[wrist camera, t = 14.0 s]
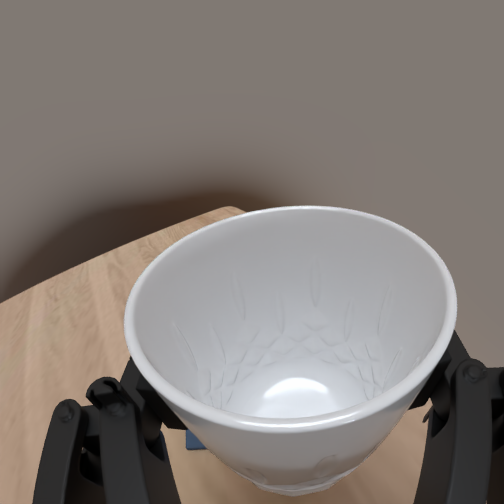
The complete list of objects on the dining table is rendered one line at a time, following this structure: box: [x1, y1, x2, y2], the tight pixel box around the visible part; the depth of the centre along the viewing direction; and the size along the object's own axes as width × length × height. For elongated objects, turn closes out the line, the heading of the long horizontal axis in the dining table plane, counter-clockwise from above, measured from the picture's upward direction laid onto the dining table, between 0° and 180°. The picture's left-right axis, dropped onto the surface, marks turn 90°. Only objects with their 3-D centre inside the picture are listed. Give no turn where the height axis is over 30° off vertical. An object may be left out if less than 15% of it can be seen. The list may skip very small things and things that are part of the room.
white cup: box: [124, 206, 457, 497], centre depth 9 cm, size 8×8×10 cm
